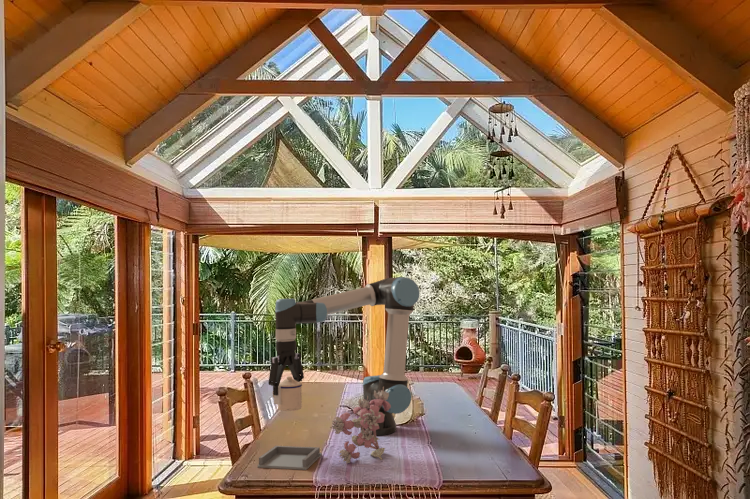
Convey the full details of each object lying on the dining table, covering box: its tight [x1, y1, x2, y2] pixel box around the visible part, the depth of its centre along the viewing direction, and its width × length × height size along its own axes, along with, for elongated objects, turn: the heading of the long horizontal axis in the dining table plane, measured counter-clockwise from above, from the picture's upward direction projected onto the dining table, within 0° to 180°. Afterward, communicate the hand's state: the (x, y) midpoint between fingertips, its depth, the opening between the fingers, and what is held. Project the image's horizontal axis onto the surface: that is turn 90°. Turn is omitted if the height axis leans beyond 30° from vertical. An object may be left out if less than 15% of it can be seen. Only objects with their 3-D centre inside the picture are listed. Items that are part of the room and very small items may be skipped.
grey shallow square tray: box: [257, 445, 323, 471], centre depth 202 cm, size 18×16×3 cm
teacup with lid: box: [271, 375, 303, 412], centre depth 209 cm, size 12×9×12 cm
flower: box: [329, 387, 391, 464], centre depth 203 cm, size 20×22×25 cm
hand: (287, 401), depth 209 cm, fingers closed on teacup with lid, 9 cm apart
